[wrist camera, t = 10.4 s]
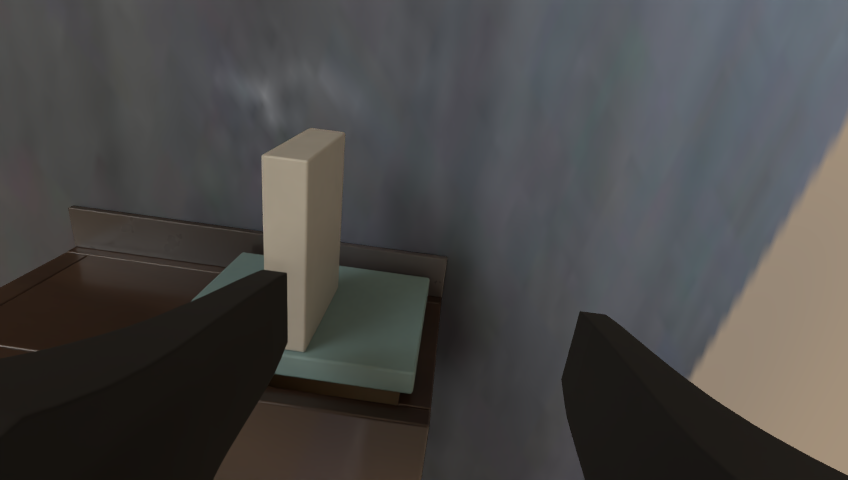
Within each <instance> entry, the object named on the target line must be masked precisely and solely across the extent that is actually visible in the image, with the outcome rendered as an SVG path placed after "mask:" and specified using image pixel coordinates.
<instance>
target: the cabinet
mask: <svg viewBox="0 0 848 480" xmlns="http://www.w3.org/2000/svg"><path fill="white" fill-rule="evenodd" d="M68 209H69V214H70V220H71V225H72V230H73V235H74V240H75V245H76V246H77V247H75V248H73V249H71V250H69V251H67V253H64V254H62V255H61V256H59V257H57V258H55V259H53V260H51V261H49V262H47V263H46V264H44V265H42V266H40V267H38V268H36V269H34V270H32V271H31V272H29V273H27V274H25V275H23V276H21V277H19V278H17V279H15V280H14V281H12V282H10V283H8V284H6V285H4V286H2V287H0V358H5V357H10V356H15V355H20V354H25V353H30V352H34V351H39V350H44V349H48V348H52V347H56V346H60V345H64V344H67V343H71V342H75V341H79V340H83V339H87V338H91V337H94V336H98V335H102V334H105V333H108V332H111V331H115V330H118V329H121V328H124V327H127V326H130V325H133V324H136V323H139V322H141V321H144V320H147V319H150V318H152V317H155V316H158V315H160V314H162V313H165V312H167V311H170V310H172V309H174V308H177V307H179V306H182V305H184V304H186V303H189V302H191V301H192V300H193V299H194V298H195V297H196V296H197V295H198V294H199V293H200V292H201V291H202V290H203V289H204V288H205V287H206V286H207V285H208V284H209V283H211V282H212V281H213V280H214V279H215V278H216V277H217V276H218V275H219V274H220V273H221V272H222V271H223V270H224V269H225V268H226V267H227V266H228V265H230V264H231V263H232V262H233V261H234V260H235V259H236V258H237V257H238V256H239V255H240V254H241V253H243V252H245V253H252V254H259V255H264V241H263V232H262V231H255V230H248V229H240V228H233V227H226V226H218V225H211V224H204V223H196V222H189V221H182V220H174V219H167V218H160V217H153V216H145V215H138V214H131V213H123V212H116V211H109V210H101V209H94V208H87V207H79V206H71V207H69V208H68ZM446 265H447V257H445V256H438V255H430V254H423V253H416V252H408V251H401V250H394V249H387V248H379V247H372V246H365V245H357V244H350V243H343V242H340V257H339V266H346V267H353V268H360V269H368V270H375V271H382V272H389V273H396V274H404V275H411V276H418V277H425V278H429V280H430V281H429V289H428V296H427V303H426V309H425V316H424V322H423V329H422V336H421V342H420V349H419V355H418V362H417V368H416V375H415V382H414V388H413V392H412V393H411V394H407V393H400V392H393V391H386V390H379V389H373V388H366V387H359V386H352V385H345V384H338V383H332V382H325V381H318V380H311V379H304V378H297V377H291V376H284V375H277V374H274V376H273V378H272V379H271V381H270V383H269V385H268V386H267V388H266V390H265V391H264V393H263V395H262V396H261V398H260V400H259V401H258V403H257V405H256V406H255V408H254V410H253V411H252V413H251V415H250V416H249V418H248V419H247V421H246V423H245V424H244V426H243V428H242V429H241V431H240V433H239V434H238V436H237V438H236V439H235V441H234V443H233V444H232V446H231V447H230V449H229V451H228V452H227V454H226V456H225V458H224V460H223V462H222V463H221V465H220V467H219V469H218V471H217V473H216V475H215V477H214V479H213V480H421V478H422V471H423V464H424V458H425V451H426V445H427V438H428V432H429V424H430V414H431V413H430V412H431V404H432V393H433V383H434V373H435V362H436V352H437V341H438V331H439V321H440V310H441V300H442V293H443V286H444V279H445V272H446Z"/></svg>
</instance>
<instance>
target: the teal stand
mask: <svg viewBox="0 0 848 480" xmlns="http://www.w3.org/2000/svg"><path fill="white" fill-rule="evenodd" d="M344 149H345V133H344V132H338V131H330V130H323V129H315V128H309V129H307V130H306V131H304V132H302V133H300V134H299V135H297V136H295V137H293V138H291V139H290V140H288V141H286V142H284V143H283V144H281V145H279V146H277V147H275V148H274V149H272V150H270V151H268V152H267V153H265V154H263V155H262V198H263V241H264V255H259V254H252V253H245V252H243V253H241V254H240V255H239V256H238V257H237V258H236V259H235V260H234V261H233V262H232V263H231V264H230V265H228V266H227V267H226V268H225V269H224V270H223V271H222V272H221V273H220V274H219V275H218V276H217V277H216V278H215V279H214V280H213V281H212V282H211V283H209V284H208V285H207V286H206V287H205V288H204V289H203V290H202V291H201V292H200V293H199V294H198V295H197V296H196V297H195V298H194V299H193V300H192V301H194V300H196V299H198V298H200V297H202V296H205V295H207V294H209V293H211V292H213V291H215V290H218V289H220V288H222V287H224V286H226V285H228V284H230V283H233V282H235V281H237V280H239V279H241V278H243V277H246V276H248V275H250V274H252V273H255V272H257V271H260V270H270V271H278V272H285V273H287V306H288V343H287V345H286V348H285V350H284V353H283V355H282V358H281V360H280V362H279V365H278V367H277V369H276V371H275V374H277V375H284V376H291V377H297V378H304V379H311V380H318V381H325V382H332V383H338V384H345V385H352V386H359V387H366V388H373V389H379V390H386V391H393V392H400V393H407V394H411V393H412V392H413V388H414V382H415V375H416V368H417V362H418V355H419V349H420V342H421V336H422V329H423V322H424V316H425V309H426V303H427V296H428V289H429V281H430V280H429V278H425V277H418V276H411V275H404V274H396V273H389V272H382V271H375V270H368V269H360V268H353V267H346V266H339V257H340V236H341V214H342V193H343V171H344Z"/></svg>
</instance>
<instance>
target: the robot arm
mask: <svg viewBox="0 0 848 480" xmlns="http://www.w3.org/2000/svg"><path fill="white" fill-rule="evenodd" d="M287 343H288V306H287V273H285V272H278V271H270V270H260V271H257V272H255V273H252V274H250V275H248V276H246V277H243V278H241V279H239V280H237V281H235V282H233V283H230V284H228V285H226V286H224V287H222V288H220V289H218V290H215V291H213V292H211V293H209V294H207V295H205V296H202V297H200V298H198V299H196V300H194V301H191V302H189V303H186V304H184V305H182V306H179V307H177V308H174V309H172V310H170V311H167V312H165V313H162V314H160V315H158V316H155V317H152V318H150V319H147V320H144V321H141V322H139V323H136V324H133V325H130V326H127V327H124V328H121V329H118V330H115V331H111V332H108V333H105V334H102V335H98V336H94V337H91V338H87V339H83V340H79V341H75V342H71V343H67V344H64V345H60V346H56V347H52V348H48V349H44V350H39V351H34V352H30V353H25V354H20V355H15V356H10V357H5V358H0V480H213V479H214V477H215V475H216V473H217V471H218V469H219V467H220V465H221V463H222V462H223V460H224V458H225V456H226V454H227V452H228V451H229V449H230V447H231V446H232V444H233V443H234V441H235V439H236V438H237V436H238V434H239V433H240V431H241V429H242V428H243V426H244V424H245V423H246V421H247V419H248V418H249V416H250V415H251V413H252V411H253V410H254V408H255V406H256V405H257V403H258V401H259V400H260V398H261V396H262V395H263V393H264V391H265V390H266V388H267V386H268V385H269V383H270V381H271V379H272V378H273V376H274V374H275V371H276V369H277V367H278V365H279V362H280V360H281V358H282V355H283V353H284V350H285V348H286V345H287ZM562 387H563V395H564V402H565V408H566V415H567V419H568V423H569V426H570V430H571V433H572V437H573V440H574V444H575V447H576V451H577V454H578V458H579V461H580V464H581V468H582V471H583V475H584V478H585V480H848V475H846V474H844V473H842V472H840V471H837V470H836V469H834V468H831V467H830V466H828V465H826V464H824V463H822V462H820V461H818V460H816V459H814V458H812V457H810V456H808V455H806V454H805V453H803V452H801V451H799V450H797V449H796V448H794V447H792V446H790V445H788V444H786V443H785V442H783V441H781V440H779V439H777V438H776V437H774V436H772V435H770V434H769V433H767V432H765V431H763V430H762V429H760V428H758V427H757V426H755V425H753V424H752V423H750V422H749V421H747V420H746V419H744V418H742V417H741V416H739V415H738V414H736V413H735V412H733V411H731V410H730V409H728V408H727V407H725V406H724V405H722V404H721V403H719V402H717V401H716V400H715V399H713V398H712V397H710V396H709V395H708V394H706V393H705V392H703V391H702V390H701V389H699V388H698V387H696V386H695V385H694V384H693V383H691V382H690V381H688V380H687V379H686V378H684V377H683V376H682V375H680V374H679V373H678V372H677V371H675V370H674V369H673V368H671V367H670V366H669V365H668V364H666V363H665V362H664V361H663V360H661V359H660V358H659V357H658V356H657V355H655V354H654V353H653V352H652V351H650V350H649V349H648V348H647V347H646V346H644V345H643V344H642V343H641V342H640V341H638V340H637V339H636V338H635V337H634V336H632V335H631V334H630V333H629V332H628V331H626V330H625V329H624V328H623V327H621V326H620V325H619V324H618V323H616V322H615V321H614V320H612V319H611V318H610V317H608V316H607V315H604V314H596V313H589V312H581V311H580V313H579V317H578V320H577V324H576V328H575V331H574V335H573V339H572V343H571V346H570V350H569V354H568V357H567V361H566V365H565V368H564V372H563V376H562Z"/></svg>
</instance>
